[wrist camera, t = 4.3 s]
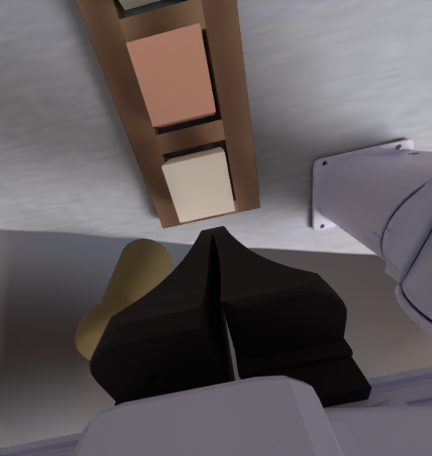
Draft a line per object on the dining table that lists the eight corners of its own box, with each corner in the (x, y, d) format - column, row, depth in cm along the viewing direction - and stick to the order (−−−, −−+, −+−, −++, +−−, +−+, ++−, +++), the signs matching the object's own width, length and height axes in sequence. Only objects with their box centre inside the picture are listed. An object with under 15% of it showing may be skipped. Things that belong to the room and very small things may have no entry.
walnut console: (210, -159, 11) (211, -215, 9) (255, 200, 21) (260, 207, 19) (47, -107, 12) (18, -150, 10) (166, 220, 21) (163, 228, 20)
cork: (113, 266, 24) (48, 362, 14) (134, 230, 22) (73, 315, 12) (158, 286, 26) (126, 383, 16) (181, 255, 23) (161, 346, 14)
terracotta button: (201, 48, 15) (199, 22, 11) (213, 115, 17) (215, 111, 13) (144, 63, 15) (125, 42, 11) (163, 127, 17) (152, 126, 14)
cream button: (220, 146, 17) (224, 151, 13) (229, 195, 19) (235, 210, 15) (170, 158, 17) (161, 166, 14) (184, 205, 19) (180, 222, 16)
